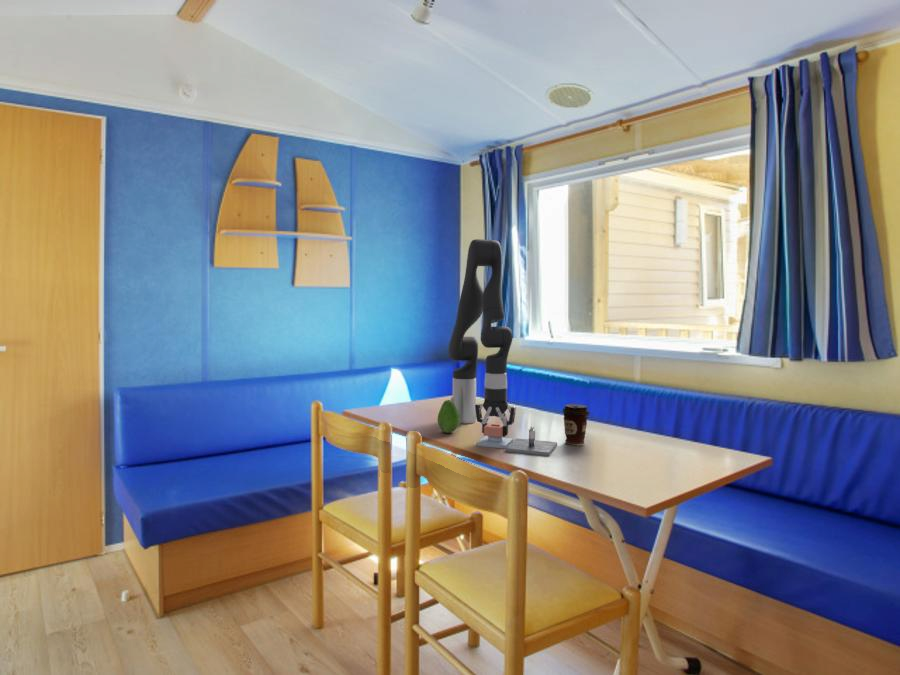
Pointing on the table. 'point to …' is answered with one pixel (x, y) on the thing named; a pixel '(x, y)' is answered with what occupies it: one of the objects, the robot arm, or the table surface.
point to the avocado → (448, 417)
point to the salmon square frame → (493, 430)
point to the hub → (531, 445)
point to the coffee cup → (575, 423)
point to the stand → (494, 442)
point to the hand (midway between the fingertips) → (495, 435)
